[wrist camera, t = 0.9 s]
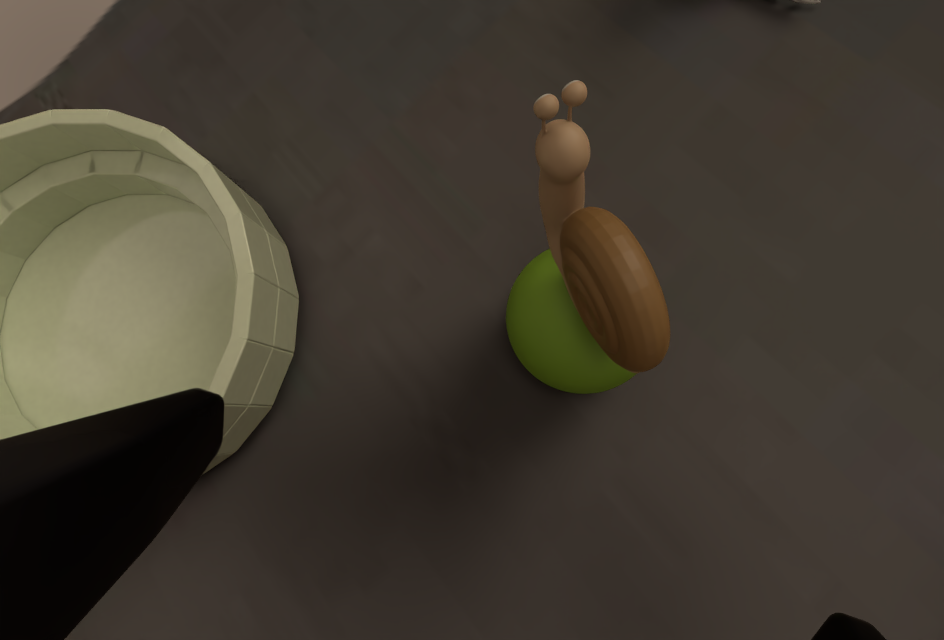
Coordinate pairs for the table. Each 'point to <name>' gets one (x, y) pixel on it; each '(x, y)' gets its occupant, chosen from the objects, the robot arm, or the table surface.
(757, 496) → the table surface
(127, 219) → the basin
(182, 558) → the table surface
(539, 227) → the table surface
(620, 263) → the snail figurine
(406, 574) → the table surface
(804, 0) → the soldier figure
